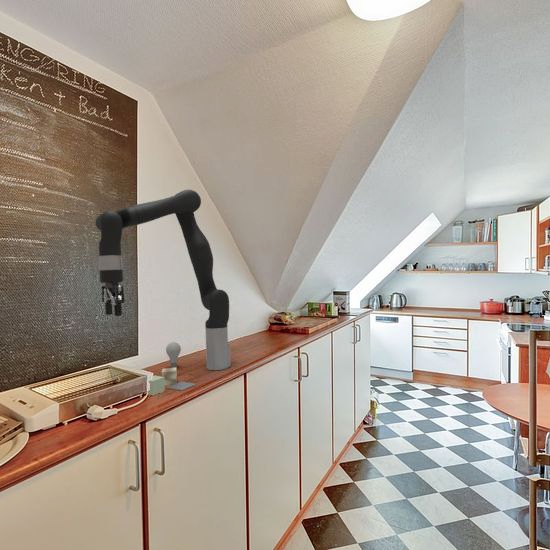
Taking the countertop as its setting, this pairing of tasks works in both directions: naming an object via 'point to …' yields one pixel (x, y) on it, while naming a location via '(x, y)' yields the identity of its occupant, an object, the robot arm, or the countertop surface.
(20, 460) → the countertop surface
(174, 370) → the birch block
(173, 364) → the lightbulb
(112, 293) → the robot arm
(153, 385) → the sage block
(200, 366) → the countertop surface
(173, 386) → the build tile
